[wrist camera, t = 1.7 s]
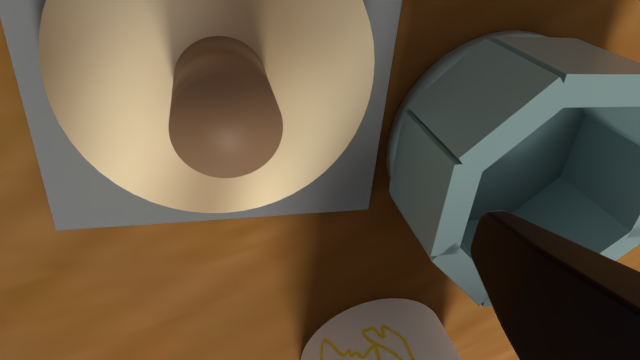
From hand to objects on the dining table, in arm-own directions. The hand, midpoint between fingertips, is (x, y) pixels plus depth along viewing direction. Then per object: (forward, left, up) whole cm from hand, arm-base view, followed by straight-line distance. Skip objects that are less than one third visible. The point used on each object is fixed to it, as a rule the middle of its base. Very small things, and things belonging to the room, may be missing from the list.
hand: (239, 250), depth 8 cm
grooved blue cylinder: (+11, -3, -10) cm, 15 cm away
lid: (0, 0, -9) cm, 9 cm away
